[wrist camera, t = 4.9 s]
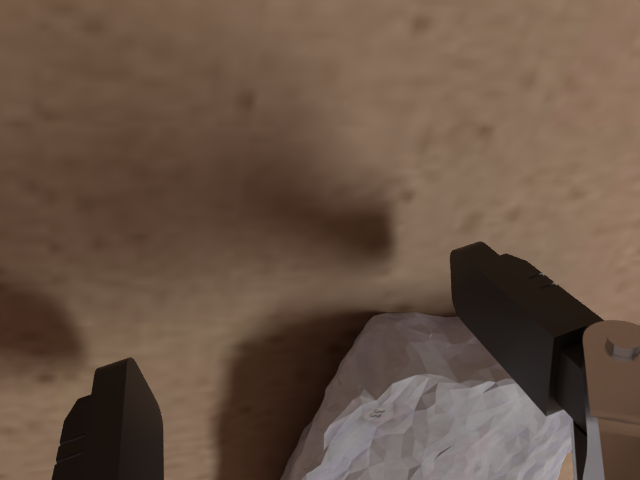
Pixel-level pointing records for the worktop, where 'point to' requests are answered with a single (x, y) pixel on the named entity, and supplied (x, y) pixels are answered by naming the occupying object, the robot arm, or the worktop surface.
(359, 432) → the stone block
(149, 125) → the worktop surface
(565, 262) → the worktop surface
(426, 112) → the worktop surface
